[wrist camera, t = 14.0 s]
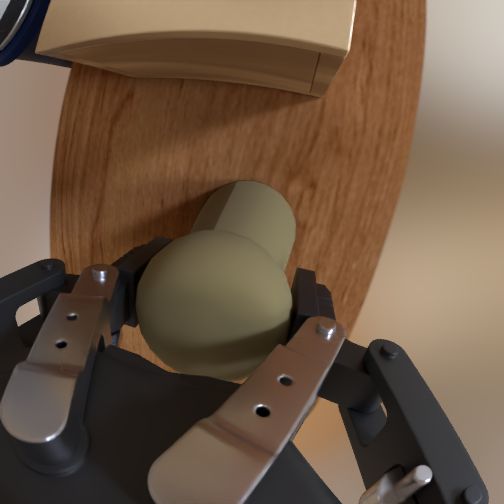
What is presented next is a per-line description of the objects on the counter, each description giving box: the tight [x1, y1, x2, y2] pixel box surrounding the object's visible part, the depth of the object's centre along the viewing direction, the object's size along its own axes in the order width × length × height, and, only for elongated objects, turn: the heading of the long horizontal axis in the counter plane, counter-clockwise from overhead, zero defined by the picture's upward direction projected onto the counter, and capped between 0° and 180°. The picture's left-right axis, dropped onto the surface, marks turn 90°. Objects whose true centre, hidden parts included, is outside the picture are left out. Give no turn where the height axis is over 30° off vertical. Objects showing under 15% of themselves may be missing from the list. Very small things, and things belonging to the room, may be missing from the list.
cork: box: [135, 181, 296, 382], centre depth 13 cm, size 6×6×11 cm
